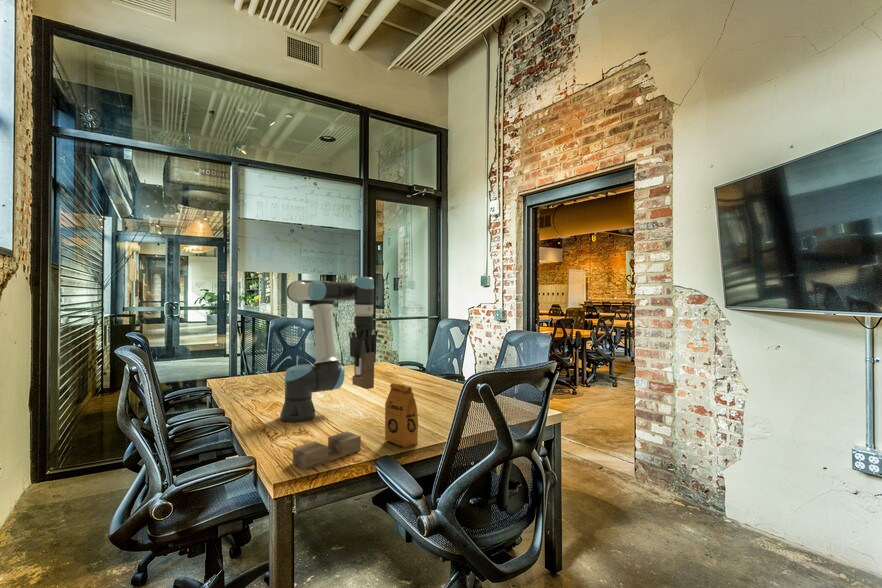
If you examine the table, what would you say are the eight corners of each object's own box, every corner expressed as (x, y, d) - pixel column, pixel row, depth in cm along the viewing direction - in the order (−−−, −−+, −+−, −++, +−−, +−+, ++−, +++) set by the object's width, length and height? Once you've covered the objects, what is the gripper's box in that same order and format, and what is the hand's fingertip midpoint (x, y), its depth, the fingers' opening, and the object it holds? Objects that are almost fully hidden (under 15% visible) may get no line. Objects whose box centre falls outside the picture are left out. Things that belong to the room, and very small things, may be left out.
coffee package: (402, 450, 145) (402, 389, 145) (381, 441, 153) (381, 384, 154) (422, 443, 152) (422, 385, 152) (401, 435, 160) (401, 380, 161)
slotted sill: (292, 463, 132) (292, 448, 132) (346, 444, 150) (346, 431, 150) (306, 469, 127) (306, 454, 127) (360, 450, 145) (360, 436, 145)
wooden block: (366, 389, 156) (367, 343, 156) (352, 384, 164) (352, 340, 164) (374, 388, 158) (375, 342, 158) (359, 383, 166) (360, 340, 166)
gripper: (353, 316, 152) (352, 378, 152) (385, 315, 165) (385, 371, 165) (340, 315, 157) (339, 375, 156) (373, 314, 170) (372, 369, 170)
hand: (363, 373), depth 161 cm, fingers closed on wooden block, 4 cm apart
